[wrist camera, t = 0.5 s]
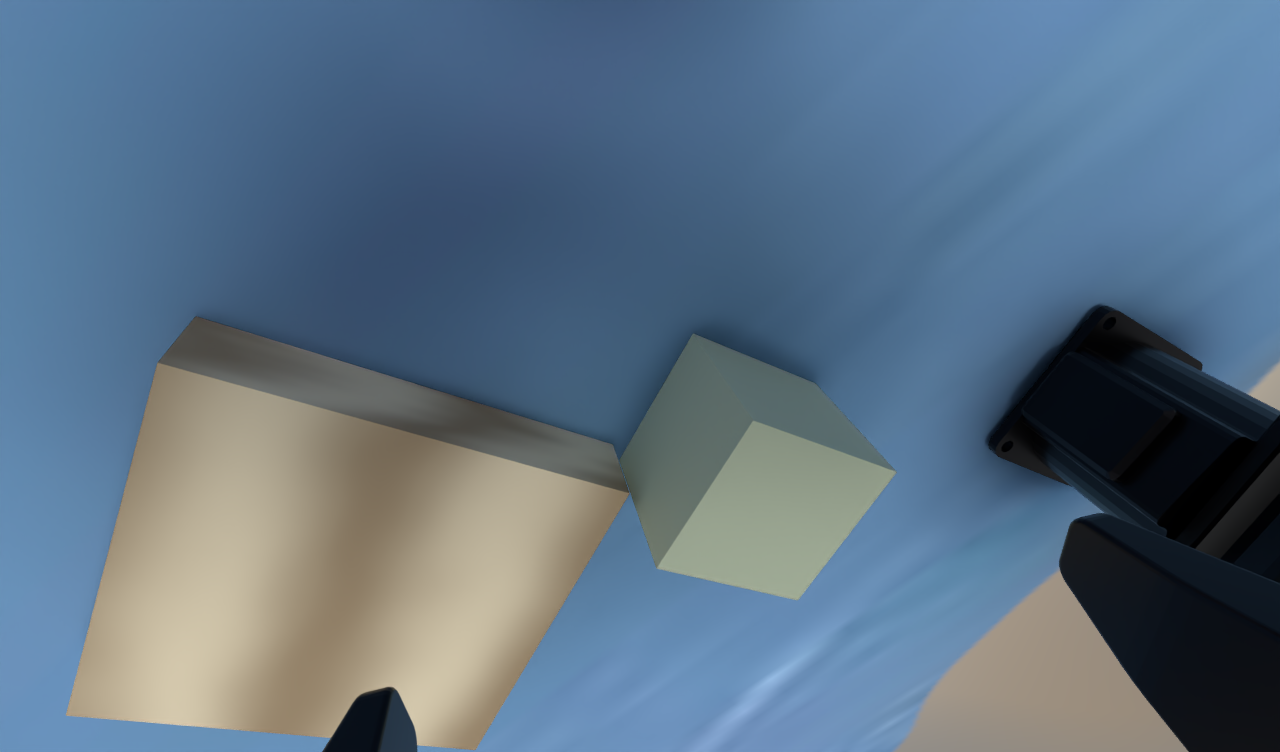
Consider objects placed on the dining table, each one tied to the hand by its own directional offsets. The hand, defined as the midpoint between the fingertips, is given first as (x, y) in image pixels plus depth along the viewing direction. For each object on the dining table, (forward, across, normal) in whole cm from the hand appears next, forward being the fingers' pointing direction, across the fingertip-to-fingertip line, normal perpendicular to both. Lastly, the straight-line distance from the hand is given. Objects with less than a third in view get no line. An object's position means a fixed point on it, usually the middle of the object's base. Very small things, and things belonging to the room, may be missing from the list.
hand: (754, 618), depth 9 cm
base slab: (+12, +9, +7) cm, 17 cm away
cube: (+12, -3, +6) cm, 14 cm away
